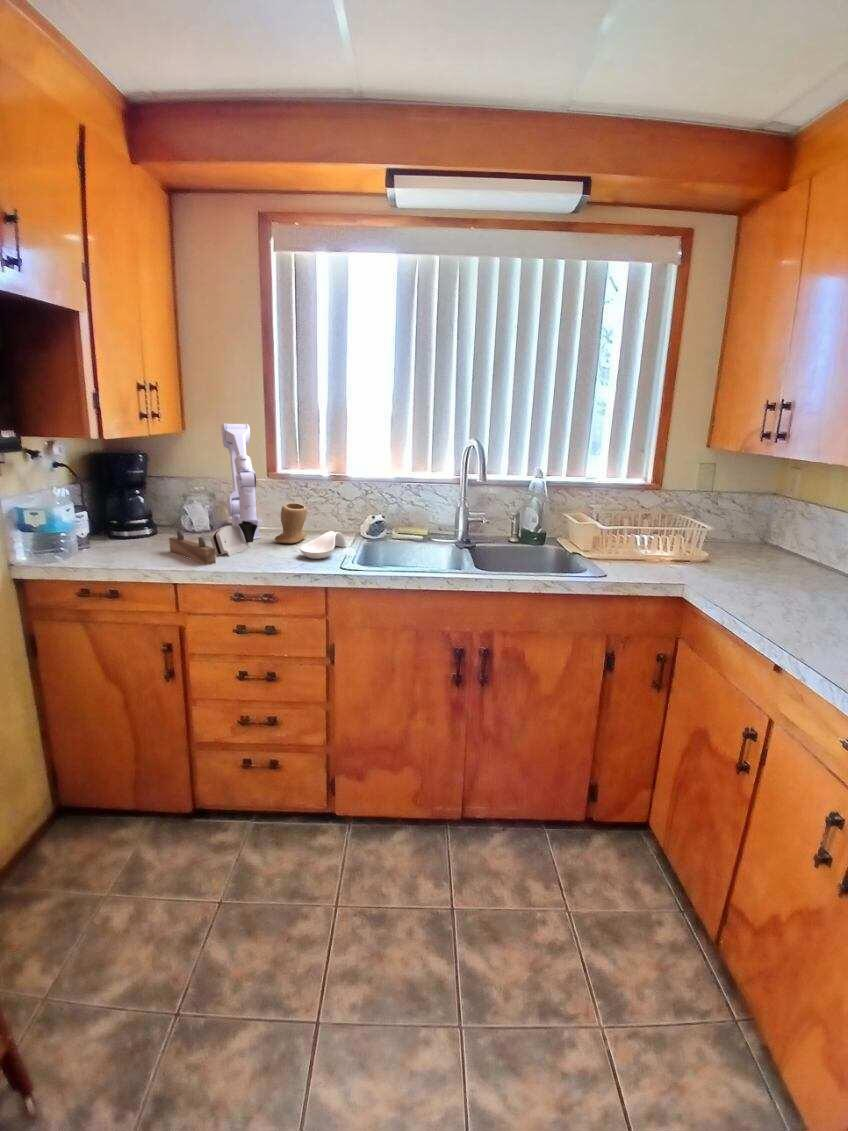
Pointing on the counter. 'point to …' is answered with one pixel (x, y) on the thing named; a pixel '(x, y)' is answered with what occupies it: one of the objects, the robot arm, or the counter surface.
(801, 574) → the counter surface
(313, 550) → the spoon rest
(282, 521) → the brown boot vase
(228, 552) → the white curved piece
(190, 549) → the stop fence
